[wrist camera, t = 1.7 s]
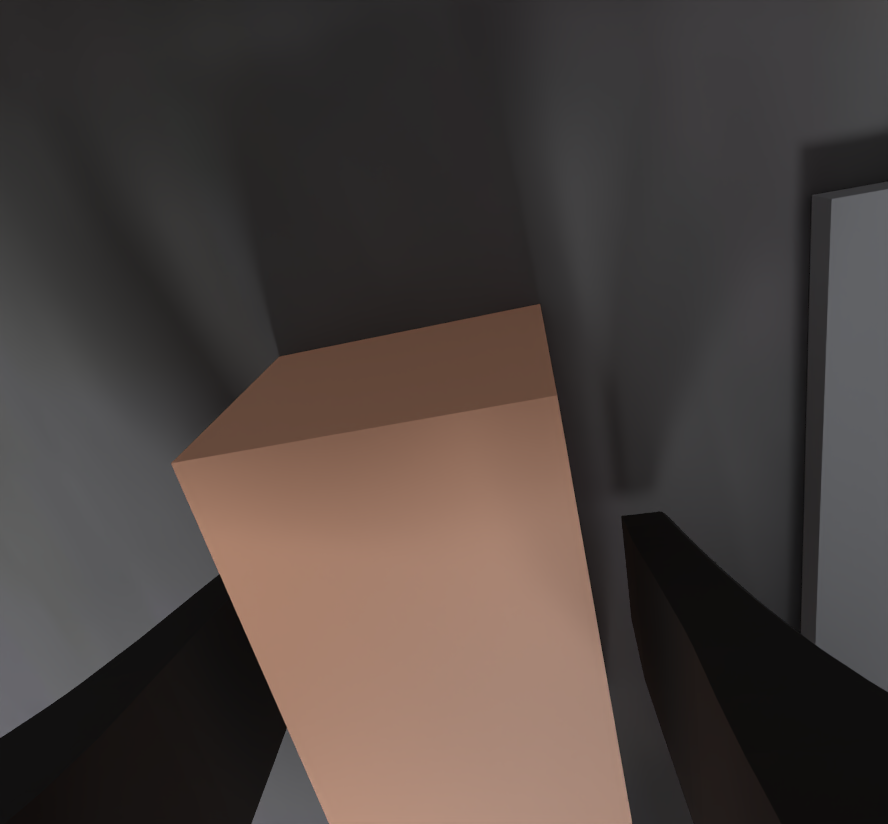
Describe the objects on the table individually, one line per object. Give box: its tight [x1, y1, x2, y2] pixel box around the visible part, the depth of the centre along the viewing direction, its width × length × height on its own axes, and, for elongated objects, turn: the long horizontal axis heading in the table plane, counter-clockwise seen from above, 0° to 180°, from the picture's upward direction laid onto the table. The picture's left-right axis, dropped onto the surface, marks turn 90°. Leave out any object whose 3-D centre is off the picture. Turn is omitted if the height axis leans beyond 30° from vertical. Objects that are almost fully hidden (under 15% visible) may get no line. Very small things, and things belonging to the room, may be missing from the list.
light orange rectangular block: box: [171, 304, 632, 824], centre depth 10 cm, size 8×4×4 cm, turn 13°
